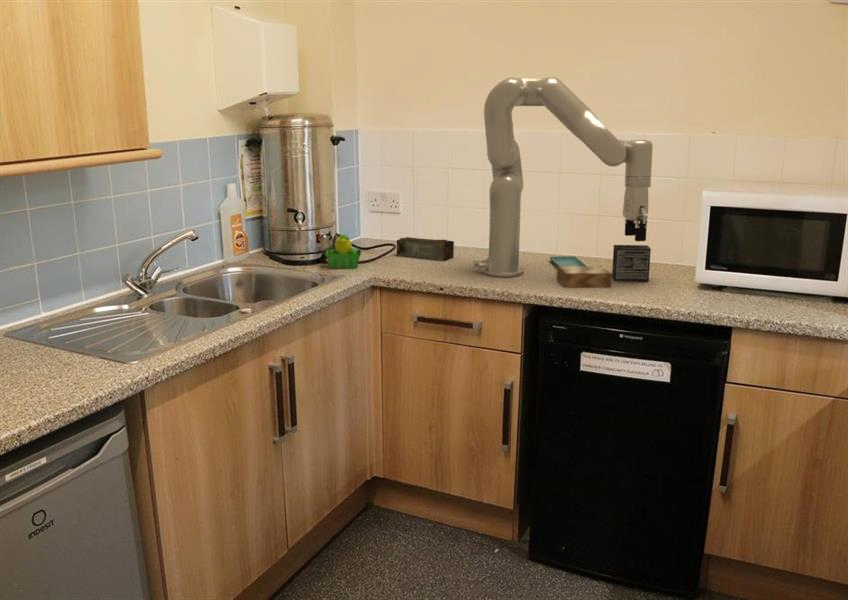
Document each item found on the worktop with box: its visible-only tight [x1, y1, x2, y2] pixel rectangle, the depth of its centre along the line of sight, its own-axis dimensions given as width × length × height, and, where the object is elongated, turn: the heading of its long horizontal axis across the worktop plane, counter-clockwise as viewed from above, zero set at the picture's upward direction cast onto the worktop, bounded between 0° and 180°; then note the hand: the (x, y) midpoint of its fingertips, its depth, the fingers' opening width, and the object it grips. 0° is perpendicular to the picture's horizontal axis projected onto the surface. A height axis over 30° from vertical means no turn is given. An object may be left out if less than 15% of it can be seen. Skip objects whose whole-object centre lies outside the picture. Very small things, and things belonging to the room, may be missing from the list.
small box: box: [611, 244, 652, 283], centre depth 244 cm, size 11×6×10 cm, turn 84°
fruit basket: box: [325, 233, 362, 269], centre depth 259 cm, size 11×9×11 cm
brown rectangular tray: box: [556, 265, 613, 288], centre depth 239 cm, size 14×10×4 cm
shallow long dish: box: [549, 255, 587, 268], centre depth 259 cm, size 26×9×2 cm, turn 3°
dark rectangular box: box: [396, 236, 455, 262], centre depth 276 cm, size 8×19×7 cm, turn 63°
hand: (635, 238), depth 242 cm, fingers open, 9 cm apart
